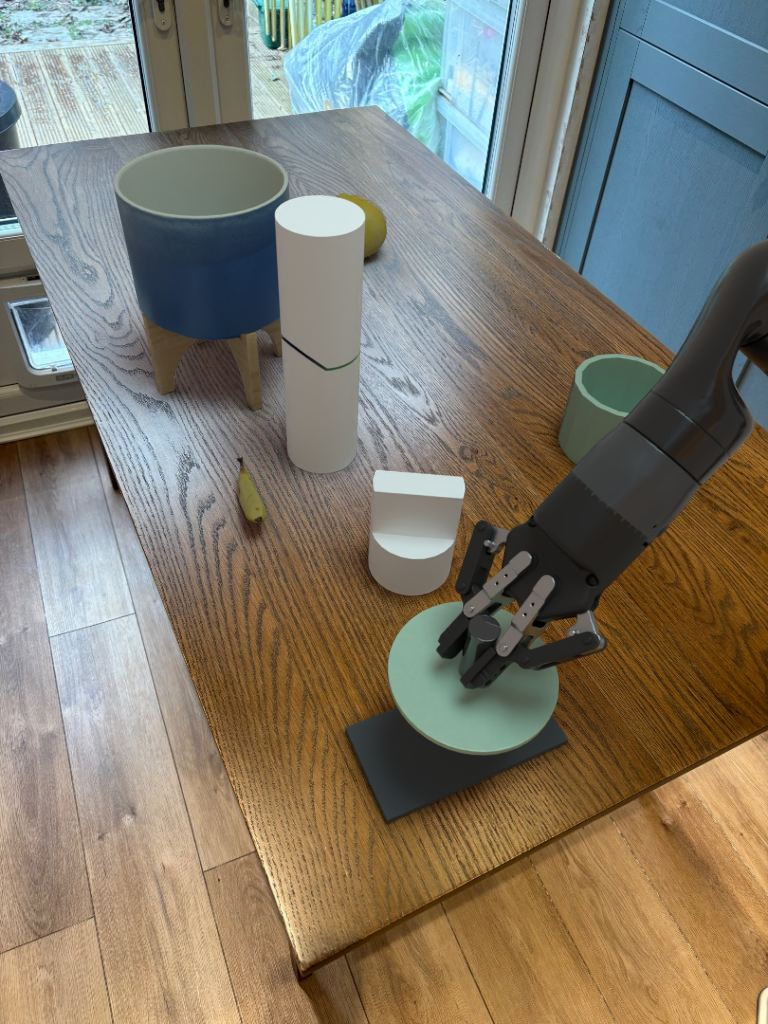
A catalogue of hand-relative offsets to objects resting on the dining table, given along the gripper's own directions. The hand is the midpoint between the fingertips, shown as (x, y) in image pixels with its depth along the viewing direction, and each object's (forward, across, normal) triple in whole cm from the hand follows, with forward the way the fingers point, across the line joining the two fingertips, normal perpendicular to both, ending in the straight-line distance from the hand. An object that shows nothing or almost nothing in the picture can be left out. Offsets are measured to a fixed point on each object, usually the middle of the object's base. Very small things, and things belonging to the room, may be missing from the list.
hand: (456, 669), depth 57 cm
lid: (0, 0, +3) cm, 3 cm away
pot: (-21, -22, +40) cm, 50 cm away
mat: (+8, 0, +11) cm, 14 cm away
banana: (+11, -35, +9) cm, 37 cm away
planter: (+5, -60, +15) cm, 62 cm away
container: (+2, -40, +17) cm, 43 cm away
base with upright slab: (+3, -19, +17) cm, 25 cm away
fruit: (-18, -80, +38) cm, 90 cm away
